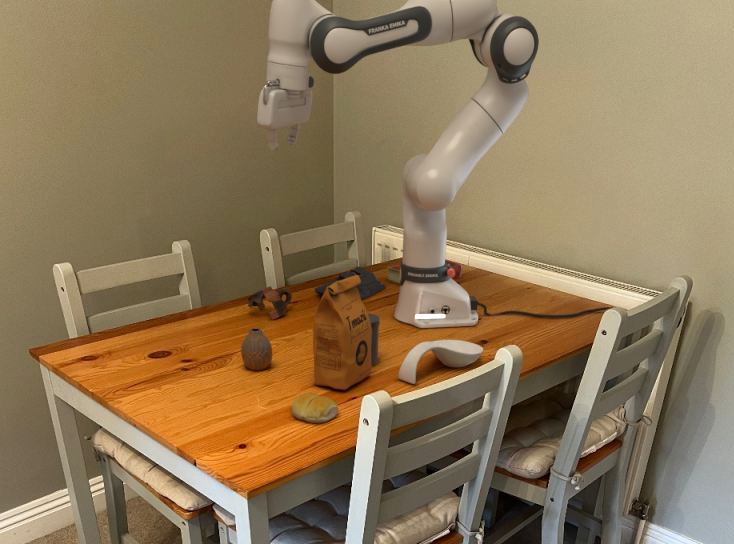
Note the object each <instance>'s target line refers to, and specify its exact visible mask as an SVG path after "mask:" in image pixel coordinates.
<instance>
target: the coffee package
mask: <svg viewBox="0 0 734 544" xmlns="http://www.w3.org/2000/svg"><path fill="white" fill-rule="evenodd" d="M360 283H361V280H360V278H359V276H358V275H355V276H352V277H349V278H346V279H343V280H340V281H336V282H335V283H333V284H332V285H330V286H328V287H327V288H326V291H325V293H324V295H321V298H320V301H319V302H318V304H317V307H316V309H315V312H314V318H313V330H312V331H313V333H312V334H313V337H312V350H313V370H314V372H313V373H314V374H313V375H314V377H313V378H314V385H317V386H323V387H329V388H332V389H335V390H343V391H345V390H347V389H349V388H350V387H352V386H353V385H355V384H357V383H360V382H361V381H363V380H365V379H366V378H368V377H369V376H370V375H371V372H372V370H373V369H372V366H371V342H372V328H371V322H370V319H369V316H368V310H367V308H366V305H364V302H363V301H362V300H361V298H360V294H359V291H358V289H357V288H356V286H357V285H359V284H360Z"/></svg>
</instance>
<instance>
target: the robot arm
mask: <svg viewBox="0 0 734 544" xmlns="http://www.w3.org/2000/svg"><path fill="white" fill-rule="evenodd" d="M270 5H271V6H270V12H269V21H268V43H269V51H268V55H267V59H266V77H265V81H266V82H265V85H264V86H262V87H263V88H262V89H261V91H260V94H259V96H258V97H259V98H258V103H257V114H256V122H257V126H258V127H259V128H260V129H265V131H266V132H265V133H266V136H267V140H268V146H267V147H268V149H269V150H271V151H276V150H278V149H279V144H280V142H279V140H278V138H277V137H278V136H277V134H278V133H279V129H281V128H287V127H289V134H288V135H287V137H286V144H287V145H289V146H295V145H297V142H298V141H297V140H298V136H299V133H300V130H301V124H305V123H308V122H309V119H310V118H311V112H312V103H313V90H312V89H314V88H315V85H316V79H315V77H314V76H313V75H312V74H311V73H310V72H309V71H308V70H309V62H311V61H312V62H315V64H316V65H317V67H318V68H319V69H321V70H322V71H323V72H325V73H328V74H331V75H340V74H343V73H346V72H347V71H349V70H350V69H351V68H353V67H354V66H355V65H356V64H357V63H358V62H360V61H361V60H362V59H364V58H366V57H368V56H371V55H374V54H378V53H382V52H386V51H389V50H392V49H397V48H401V47H407V46H408V47H409V46H412V47H431V46H433V47H434V46H441V45H445V44H450V43H454V42H456V41H457V42H458V41H461V40H468V42H469V44H470V47H471V50H472V54H473V55H474V57H475V59H476V61H477V62H478V63H479V64H480V65H481V66H483V67H484V68H487V72H486V77H485V78H484V80H483V82H482V84H481V85H480V88H478V90H477V91H475V93H474V94H473V95H472V96H471V97H470V98H469V100H468V101H467V102H466V103H465V104H464V105H463V107H461V109H459V111H458V112H457V113H456V114H455V116H454V117H453V118H452V119H451V120H450V121H449V122H448V124H447V125H446V126H445V127H444V130H443V131H442V133H441V134H440V137H439V138H438V139H437V141H436V143H435V144H434V146H433V147H432V148H431V150H430V151H429V152H428V153H420V154H417V155H415V156H413V157H412V158H410V159H409V160H408V161H407V162H406V164H405V165H404V167H403V170H402V176H401V177H402V178H401V181H402V182H401V197H402V198H401V199H402V201H401V202H402V224H403V225H402V226H403V230H402V231H403V232H402V234H403V235H402V239H403V240H402V255H401V256H402V257H401V258H402V259H401V260H402V261H400V264H401V265H400V276H399V282H400V285H399V294H398V298H397V303H396V307H395V310H394V313H393V318H395V320H397V321H400V322H401V323H405V324H409V325H413V326H414V327H416V328H419V329H434V328H435V329H436V328H455V327H456V328H457V327H473V326H475V325H477V324H478V322H479V314H478V312H477V311H478V306H480V307H481V308H483V314H484V315H485V316H487V317H492V316H493V317H494V316H502V315H503V316H504V315H507V314H516V315H517V314H518V315H524V316H532V317H536V318H571V317H575V316H579V315H583V314H587V313H595V312H601V311H608V310H607V309H609V308H613V307H612V306H605V307H604V306H603V307H599V308H592V309H585V310H581V311H578V312H574V313H567V314H545V313H544V314H543V313H533V312H528V311H521V310H505V311H501V312H498V313H493V314H491V313H489V312H488V309H487V306H486V305H485V304H484V303H483V302H479V300H478V299H477V297H476V296H475V295H469V293H468V292H467V291H466V289H465V288H463V287H462V286H461V285H460V284H459V283H457V281H455V279H452V278H453V277H454V276H455V271H454V269H452V267H451V266H450V265H449V264H447V263H445V260H446V254H447V253H446V252H447V241H448V228H447V213H446V211H447V210H446V209H447V208H448V207H449V206H450V205H451V203H452V202H453V201H454V199H455V198H456V195H457V193H458V191H459V190H460V189H461V188H462V186H463V185H464V183H465V182H466V180H467V179H468V177H469V176H470V175H471V173H472V171H473V170H474V168H475V167H476V166H477V164H478V163H479V161H481V159H482V158H483V157H484V156H485V155H486V153H487V152H488V151H489V150H490V149H491V148H492V147H493V146H494V145H495V143H496V142H497V141H498V140H499V139H500V138H502V136H503V135H504V134H505V132H506V131H507V130H509V128H510V127H511V126H512V124H513V123H514V122H515V120H516V119H517V117H518V116H519V115H520V113H521V112H522V110H523V109H524V107H525V106H526V104H527V102H528V100H529V96H530V89H529V85H528V83H527V81H526V80H525V79H527V77H528V76H529V74H530V73H531V68H532V65H533V63H534V61H535V59H536V57H537V53H538V49H539V42H540V40H539V34H538V31H537V29H536V26H534V24H533V23H532V22H531V21H530V20H529V19H528V18H526V17H523V16H520V15H516V14H514V13H504V12H500V10H499V8H498V6H497V5H498V4H497V0H407V1H406V2H405V4H403V5H402V6H401V7H399V8H398V9H396V10H393V11H391V12H388V13H384V14H380V15H377V16H372V17H369V18H365V19H361V20H354V19H353V20H352V19H349V18H346V17H342V16H338V15H336V14H334V13H333V12H331V11H329V10H328V9H327V8H325V7H324V6H323V5H321V4H320V3H319V2H317V0H272V1H271V4H270Z"/></svg>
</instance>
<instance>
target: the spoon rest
mask: <svg viewBox="0 0 734 544" xmlns="http://www.w3.org/2000/svg"><path fill="white" fill-rule="evenodd" d="M430 351H431V352H432V353H433V355H434V356H435V357H436V358H437V360H439V361H440V362H441V364H442V365H444V366H446V367H450V368H465V367H467V366H468V365H471V364H473V363H475V362H476V361H477V360H478V359H480V358H481V356H482V355H483V354H484V348H483V347H482V346H481V345H479V344H476V343H473V342H470V341H466V340H459V339H440V340H434V341H422V342H420V343H418V344H416V345H415V346H414V347H412V349H411V350H410V351H409V352H408V353H407V354H406V356H405V357H404V359H403V361H402V363H401V365H400V368H399V371H398V375H397V377H398V379H399V380H400V381H403V382H406V383H408V384H412V385H415V384H416V381H417V379H416V378H417V369H418V365H419V362H420V360H421V359H422V357H424V356H425V354H427V353H429V352H430Z"/></svg>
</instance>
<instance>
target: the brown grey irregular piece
mask: <svg viewBox="0 0 734 544" xmlns="http://www.w3.org/2000/svg"><path fill="white" fill-rule="evenodd" d="M284 295H285V300H283V296H284ZM292 298H293V294H292V292H291V291H290V290H289V289H288V288H282V289H279V290H274V289H273V287H272V285H271V286H266V287H265V288H263V289H261V290H258V291H256V292H255V293H253V294H250V295H249V296H248V297H247V301H248V308H250V309H252V308H253V307H257V308H258V309H259V310H260V311H262V310H263V309H265V307H266V303H264V301H263V300H264V299H265V300H266V301H267V302H268V303H271V304H272V306H273V309H272V310H271V311H269V312H268V314H269V316H270V318H271V321H273V320H276V319H278V318H279V317H284V316H286V308H287V307H288V306H289V305H290V304H291V302H292Z"/></svg>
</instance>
